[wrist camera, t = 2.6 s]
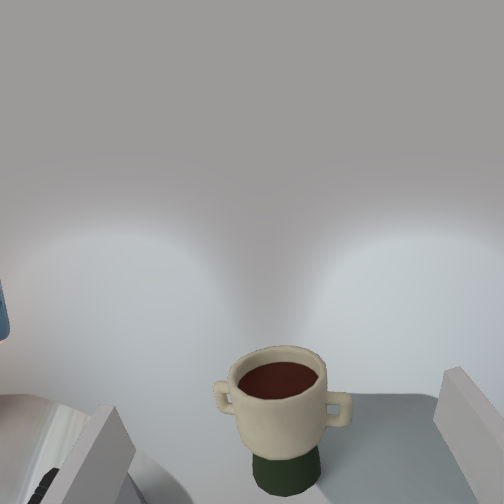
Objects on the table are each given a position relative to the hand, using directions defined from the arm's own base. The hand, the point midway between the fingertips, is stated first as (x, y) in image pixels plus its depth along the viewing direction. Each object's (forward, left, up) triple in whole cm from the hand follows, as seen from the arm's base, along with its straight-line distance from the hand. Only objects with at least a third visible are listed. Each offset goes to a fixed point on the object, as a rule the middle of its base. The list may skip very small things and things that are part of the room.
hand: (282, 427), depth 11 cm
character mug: (-8, +6, -18) cm, 20 cm away
